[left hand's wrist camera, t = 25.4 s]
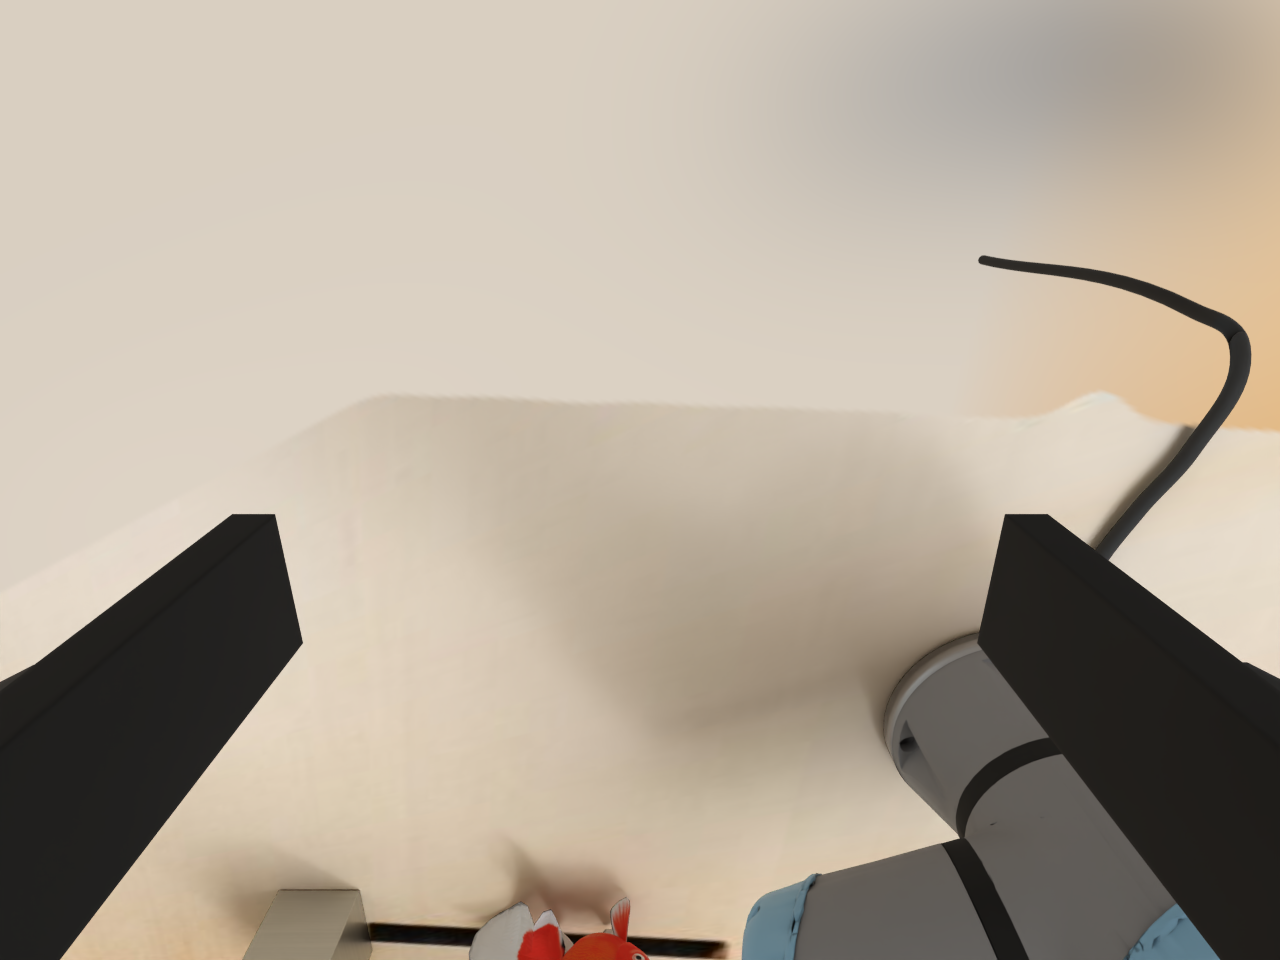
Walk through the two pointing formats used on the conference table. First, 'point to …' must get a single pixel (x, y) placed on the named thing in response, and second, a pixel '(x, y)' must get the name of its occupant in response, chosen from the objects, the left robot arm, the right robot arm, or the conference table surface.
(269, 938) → the block
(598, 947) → the fish
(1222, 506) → the conference table surface
